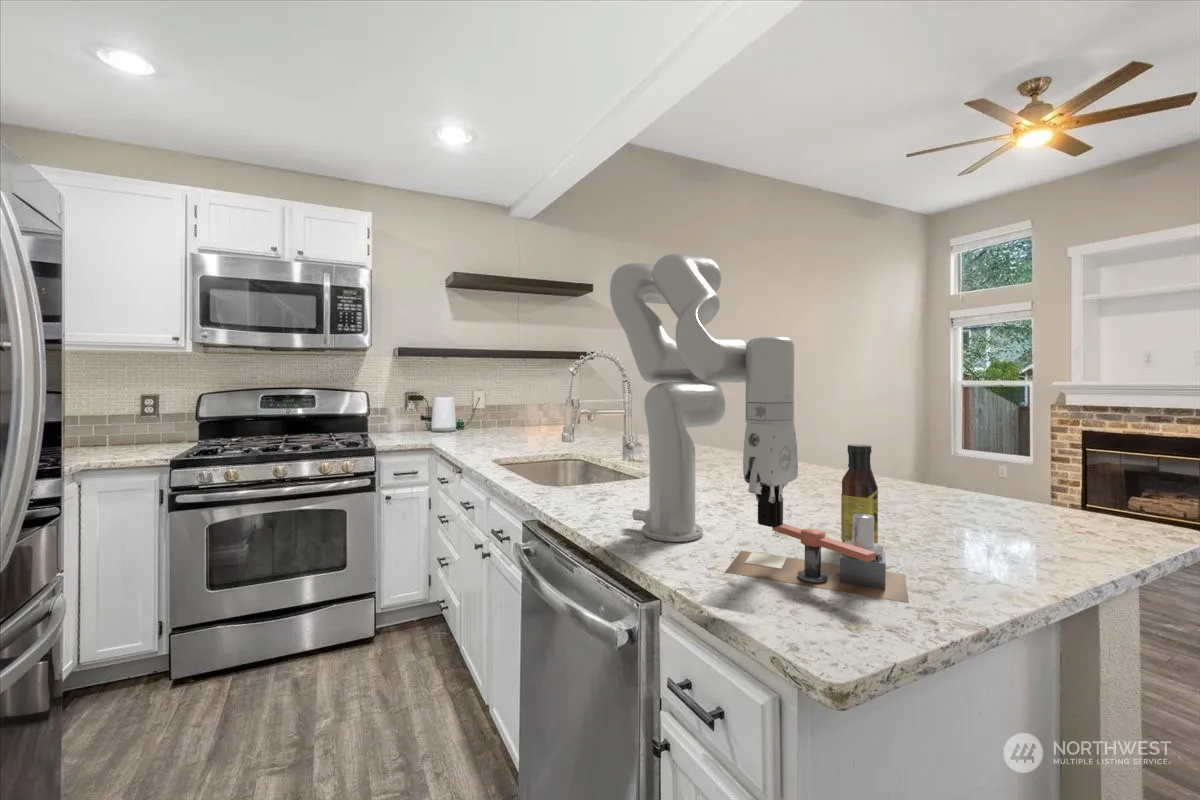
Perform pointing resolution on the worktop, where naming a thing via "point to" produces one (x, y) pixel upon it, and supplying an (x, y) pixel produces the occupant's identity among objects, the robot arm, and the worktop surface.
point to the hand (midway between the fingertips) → (769, 524)
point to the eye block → (863, 571)
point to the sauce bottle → (858, 491)
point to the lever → (823, 540)
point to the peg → (864, 534)
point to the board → (788, 572)
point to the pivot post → (812, 567)
